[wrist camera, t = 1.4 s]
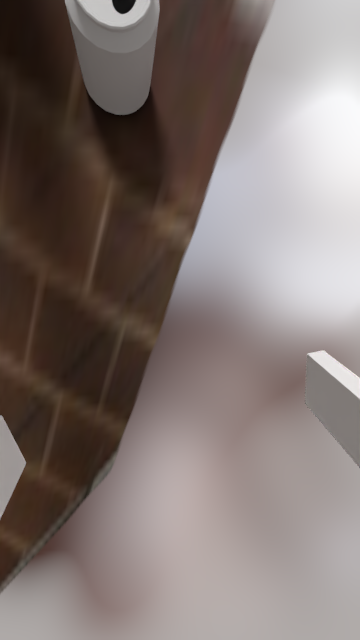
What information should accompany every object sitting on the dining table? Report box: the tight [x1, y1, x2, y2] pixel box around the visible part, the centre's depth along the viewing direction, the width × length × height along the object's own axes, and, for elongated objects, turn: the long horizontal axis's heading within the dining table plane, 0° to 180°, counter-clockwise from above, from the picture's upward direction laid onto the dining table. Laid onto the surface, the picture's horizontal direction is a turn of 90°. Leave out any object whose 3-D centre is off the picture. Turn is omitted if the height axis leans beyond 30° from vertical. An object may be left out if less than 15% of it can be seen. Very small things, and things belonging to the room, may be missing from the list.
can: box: [65, 0, 160, 115], centre depth 26 cm, size 8×8×12 cm
